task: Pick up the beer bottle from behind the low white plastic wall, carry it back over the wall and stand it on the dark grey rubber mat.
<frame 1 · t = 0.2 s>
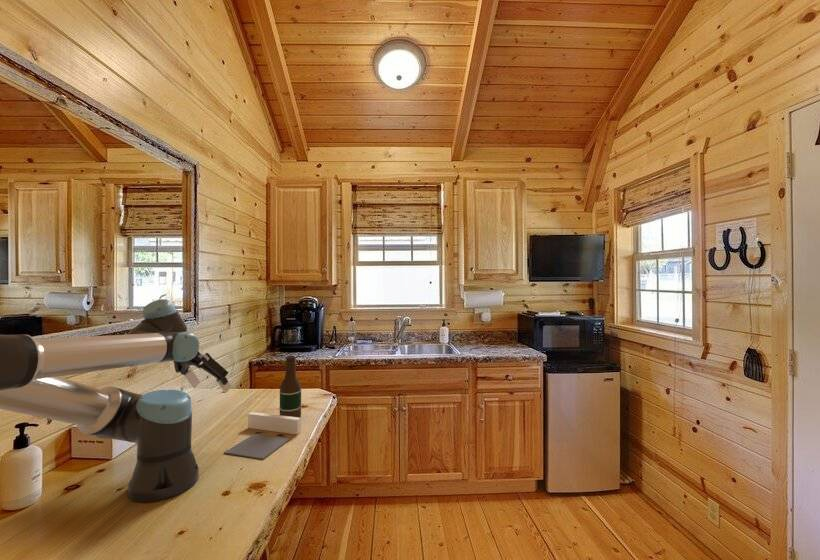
hand: (212, 387, 125), 16 cm above the table, tool tilted 35°, fingers open, 13 cm apart
beer bottle: (290, 419, 137), on the table
wall: (274, 429, 127), on the table
mat: (258, 446, 115), on the table
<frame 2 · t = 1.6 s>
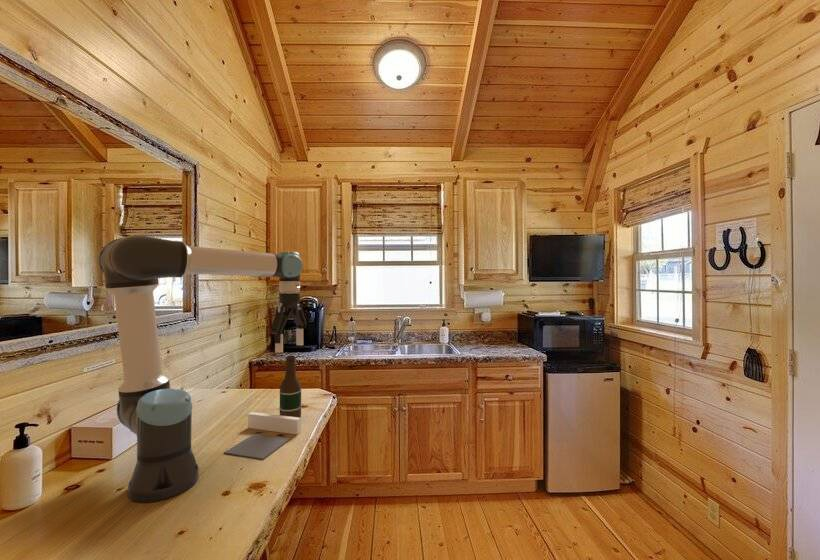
hand: (289, 348, 137), 27 cm above the table, tool pointing down, fingers open, 13 cm apart
nothing on the table moved.
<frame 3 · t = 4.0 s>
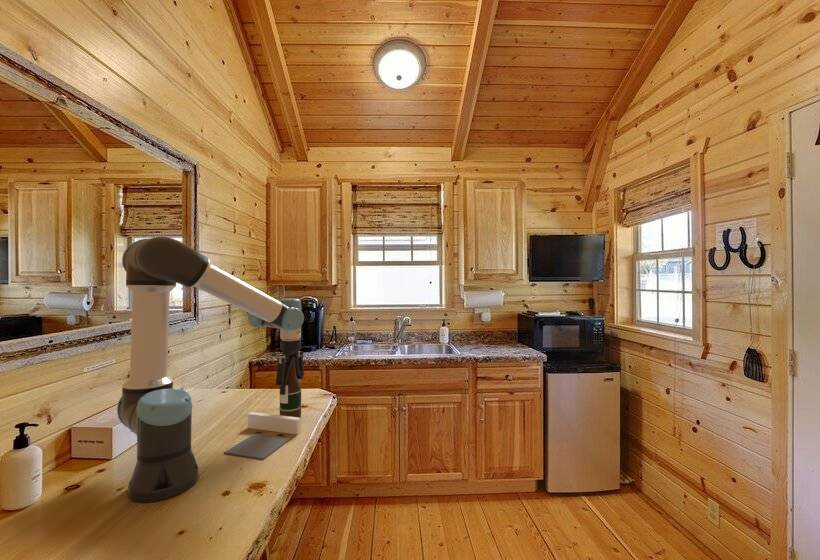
hand: (290, 399, 137), 8 cm above the table, tool pointing down, fingers closed on beer bottle, 8 cm apart
beer bottle: (290, 419, 137), on the table, touching gripper
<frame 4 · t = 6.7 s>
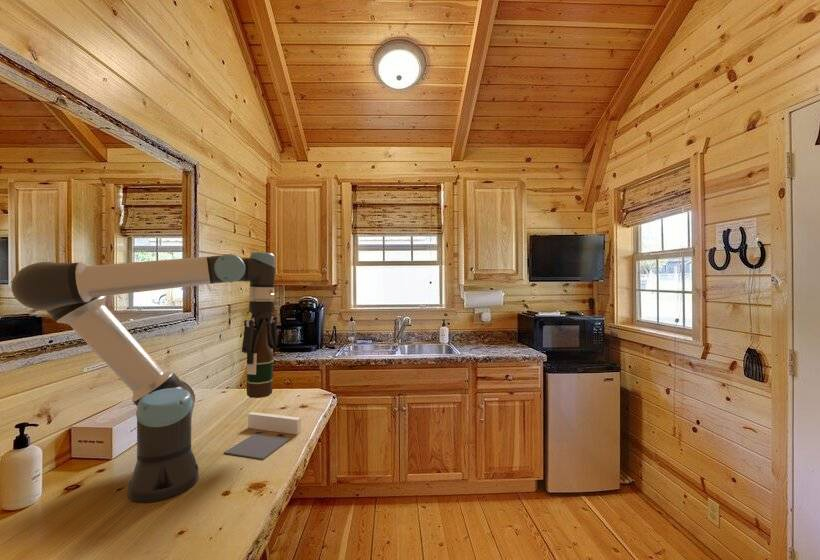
hand: (260, 370, 116), 24 cm above the table, tool pointing down, fingers closed on beer bottle, 8 cm apart
beer bottle: (259, 395, 116), point 16 cm above the table, touching gripper
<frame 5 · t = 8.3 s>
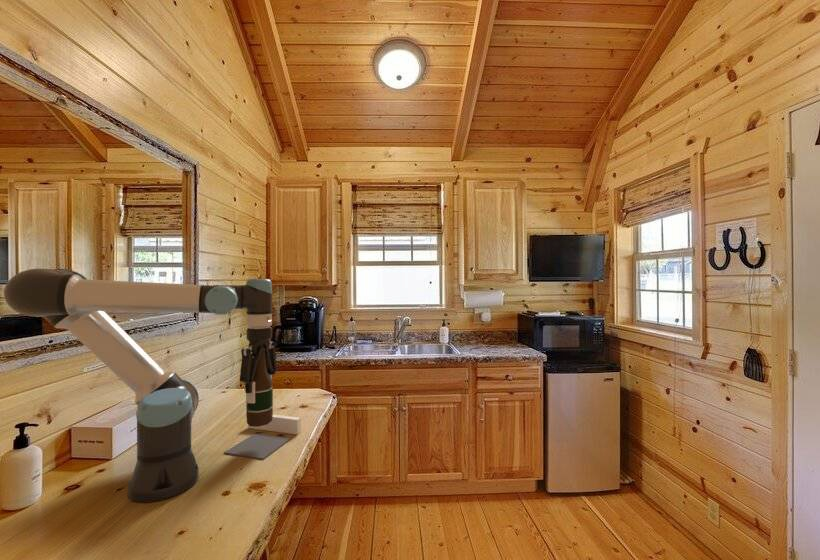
hand: (259, 398, 115), 15 cm above the table, tool pointing down, fingers closed on beer bottle, 8 cm apart
beer bottle: (259, 422, 115), point 7 cm above the table, touching gripper
when the fingers open (10 cm above the table, at t = 9.6 s): beer bottle drops 2 cm, resting on mat.
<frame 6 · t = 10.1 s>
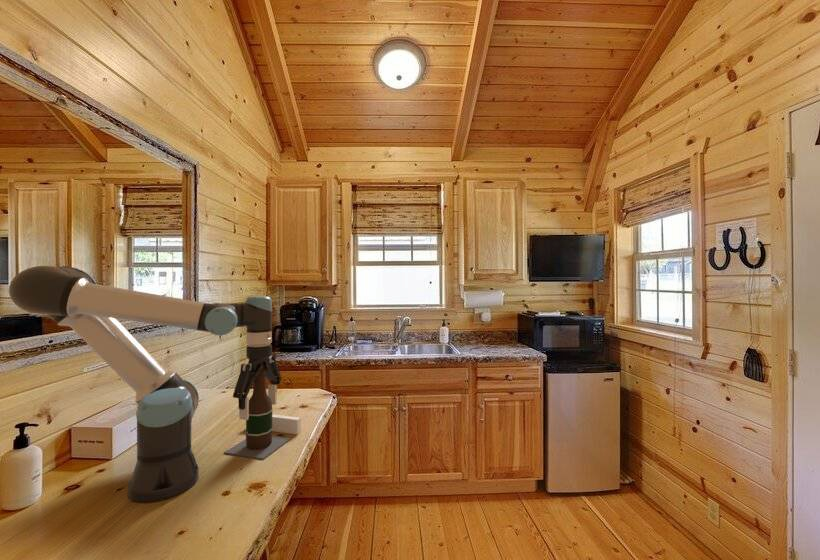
hand: (259, 411, 115), 11 cm above the table, tool pointing down, fingers open, 13 cm apart
beer bottle: (259, 445, 115), resting on mat
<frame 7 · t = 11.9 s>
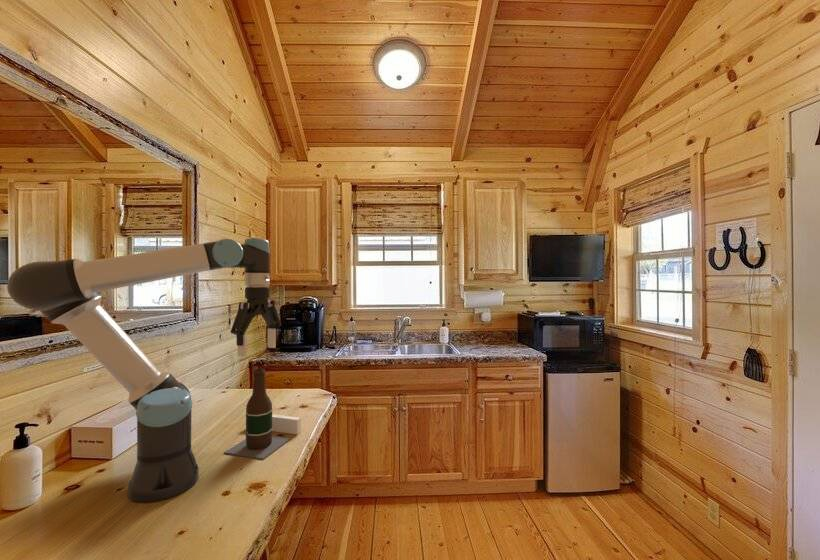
hand: (257, 351, 117), 30 cm above the table, tool pointing down, fingers open, 13 cm apart
nothing on the table moved.
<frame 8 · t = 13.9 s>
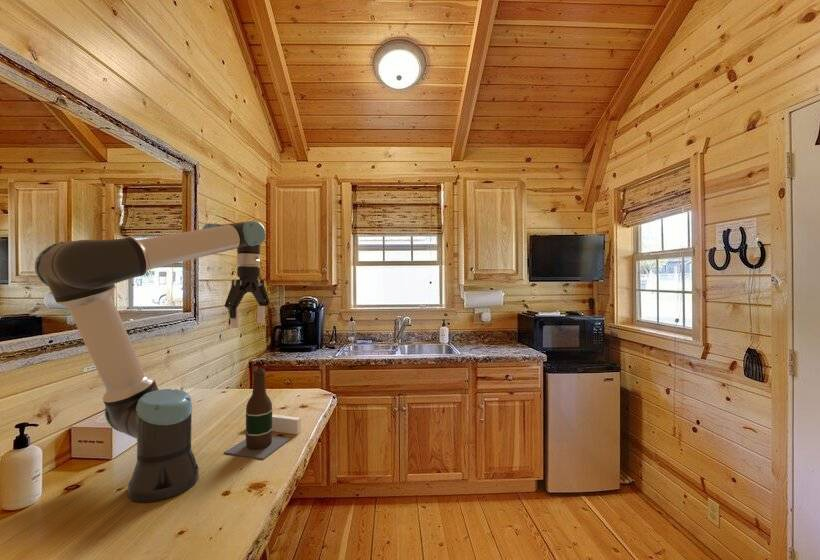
hand: (248, 325, 129), 37 cm above the table, tool pointing down, fingers open, 13 cm apart
nothing on the table moved.
at the end: beer bottle inside the target area on the mat (0.1 cm from its centre), point 0.2 cm above the mat's base; beer bottle tilted 0°; the gripper is holding nothing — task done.
